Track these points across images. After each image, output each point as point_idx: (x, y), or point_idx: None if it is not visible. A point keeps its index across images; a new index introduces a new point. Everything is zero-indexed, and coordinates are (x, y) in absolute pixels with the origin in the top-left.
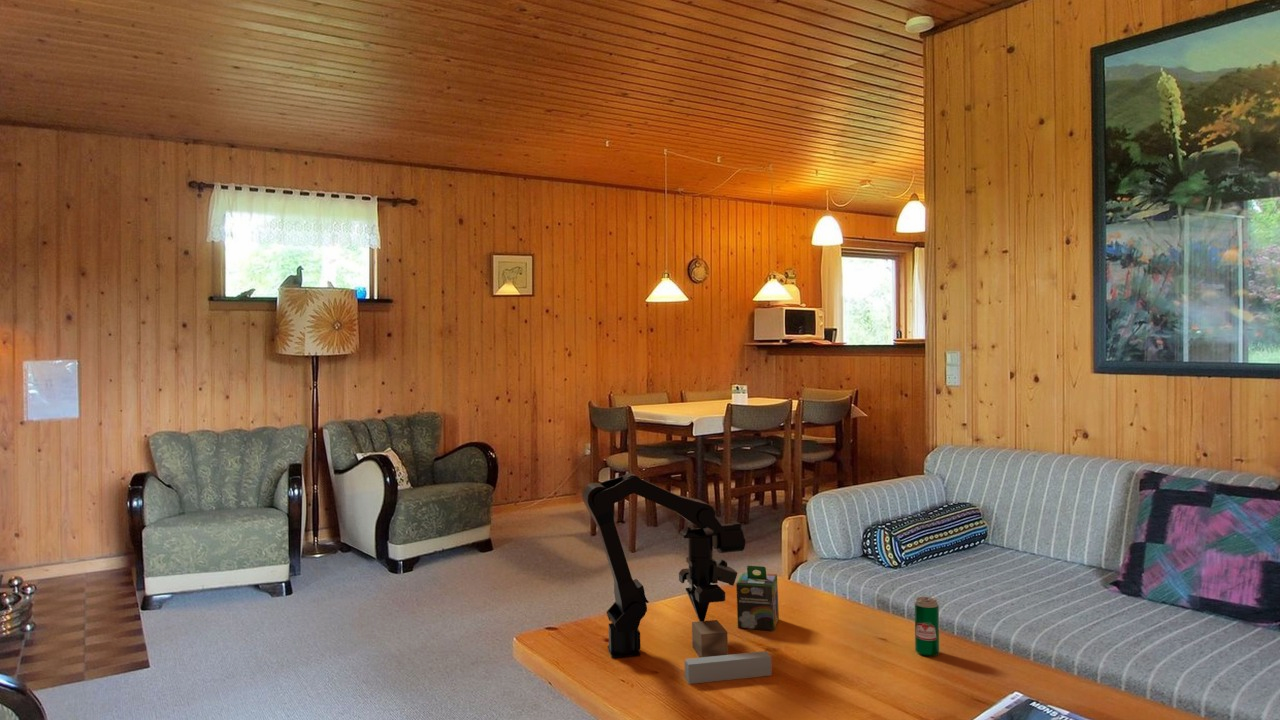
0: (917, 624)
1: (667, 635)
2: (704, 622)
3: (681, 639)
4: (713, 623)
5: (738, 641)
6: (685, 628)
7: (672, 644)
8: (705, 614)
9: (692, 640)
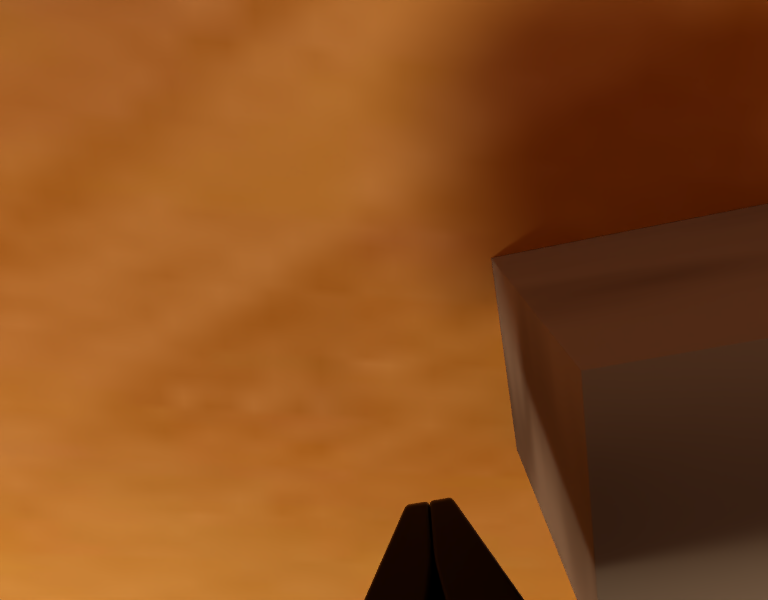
0: None
1: (274, 584)
2: (654, 540)
3: (350, 509)
4: (737, 434)
5: (414, 29)
6: (113, 475)
7: None
8: (504, 573)
9: (534, 488)
